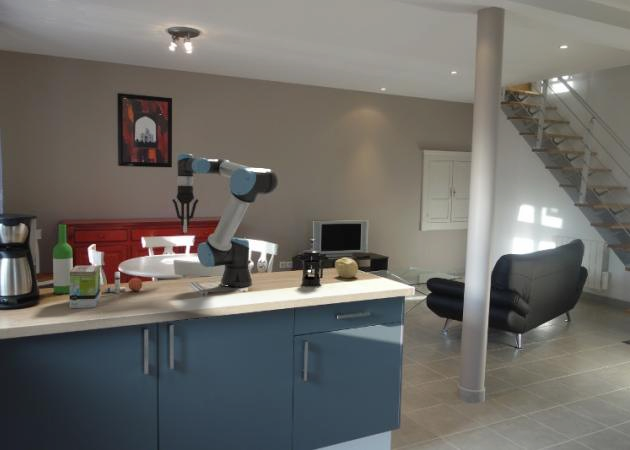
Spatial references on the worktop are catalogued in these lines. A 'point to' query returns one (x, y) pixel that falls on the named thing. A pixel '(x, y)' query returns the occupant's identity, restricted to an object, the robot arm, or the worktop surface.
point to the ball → (135, 284)
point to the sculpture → (346, 267)
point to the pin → (117, 283)
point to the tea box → (84, 286)
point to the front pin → (114, 289)
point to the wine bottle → (62, 263)
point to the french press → (311, 279)
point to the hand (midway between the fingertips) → (185, 232)
